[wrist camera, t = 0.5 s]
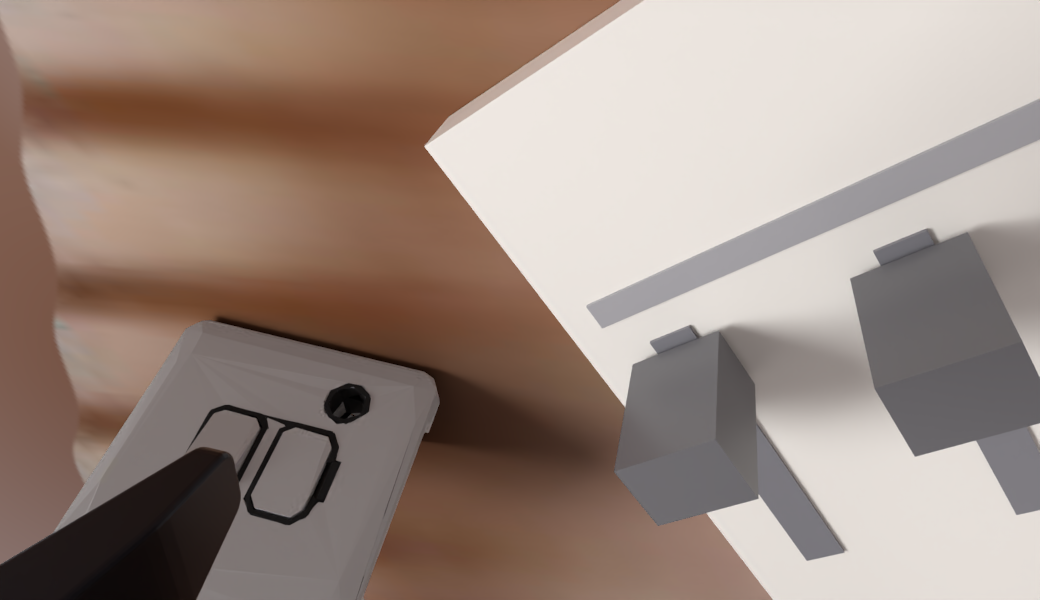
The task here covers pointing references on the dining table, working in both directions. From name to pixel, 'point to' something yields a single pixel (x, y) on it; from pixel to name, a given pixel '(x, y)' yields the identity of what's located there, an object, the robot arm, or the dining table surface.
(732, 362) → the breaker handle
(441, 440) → the dining table surface
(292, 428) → the electrical switch
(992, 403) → the handle
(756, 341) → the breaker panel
